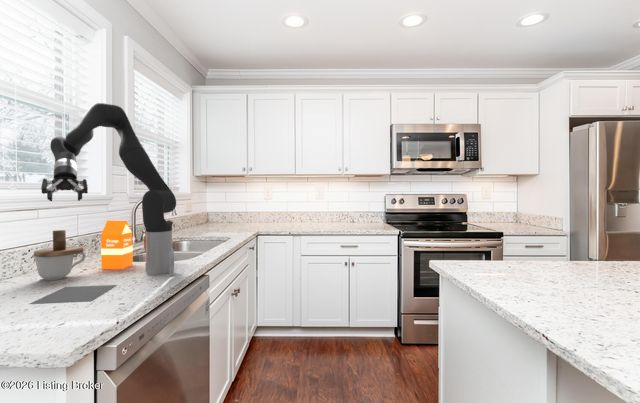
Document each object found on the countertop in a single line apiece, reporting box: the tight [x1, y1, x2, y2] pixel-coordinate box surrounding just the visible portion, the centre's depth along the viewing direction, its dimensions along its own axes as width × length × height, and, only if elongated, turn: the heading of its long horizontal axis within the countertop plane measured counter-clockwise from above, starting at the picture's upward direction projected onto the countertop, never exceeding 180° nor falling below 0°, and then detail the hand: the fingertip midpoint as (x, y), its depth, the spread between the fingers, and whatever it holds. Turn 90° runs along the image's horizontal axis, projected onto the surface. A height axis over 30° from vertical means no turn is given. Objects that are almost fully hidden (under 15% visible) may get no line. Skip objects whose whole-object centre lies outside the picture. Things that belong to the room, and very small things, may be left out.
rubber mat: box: [29, 284, 118, 305], centre depth 98 cm, size 16×16×1 cm
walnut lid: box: [33, 229, 85, 257], centre depth 115 cm, size 14×14×8 cm
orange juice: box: [100, 220, 134, 270], centre depth 136 cm, size 8×9×20 cm
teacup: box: [32, 251, 86, 281], centre depth 116 cm, size 12×15×10 cm
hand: (65, 199), depth 122 cm, fingers open, 8 cm apart
